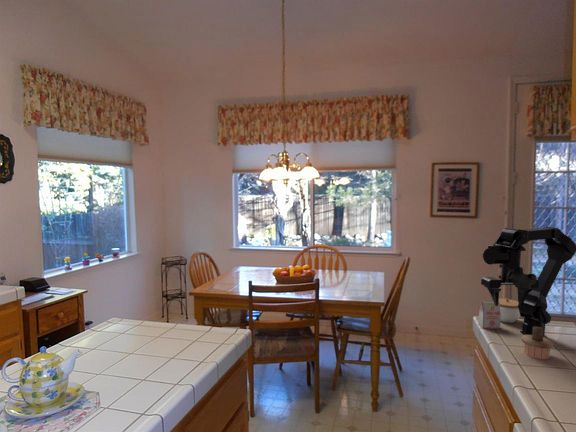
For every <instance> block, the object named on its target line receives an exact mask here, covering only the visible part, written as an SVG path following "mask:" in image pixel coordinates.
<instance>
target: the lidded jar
mask: <svg viewBox="0 0 576 432" xmlns="http://www.w3.org/2000/svg"><path fill="white" fill-rule="evenodd" d="M499 304H500V312H501V320H500V322H504V323H511V324H512V323H515V322H516V321H517V320H518V319H519V318H520V317H521V316H520V313H519V308H518V304H519V303H518V300H514V299H510V297H509V298H508V297H506V298H499Z"/></svg>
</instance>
